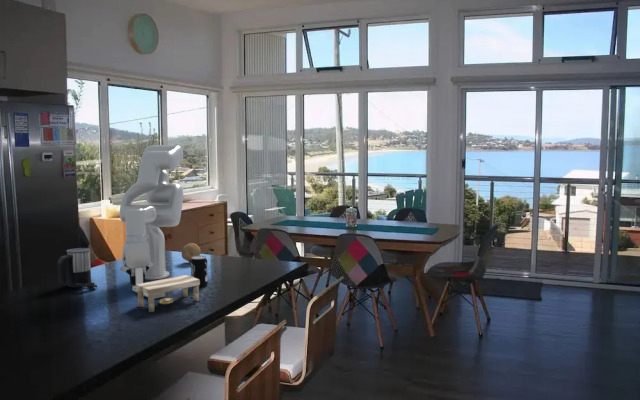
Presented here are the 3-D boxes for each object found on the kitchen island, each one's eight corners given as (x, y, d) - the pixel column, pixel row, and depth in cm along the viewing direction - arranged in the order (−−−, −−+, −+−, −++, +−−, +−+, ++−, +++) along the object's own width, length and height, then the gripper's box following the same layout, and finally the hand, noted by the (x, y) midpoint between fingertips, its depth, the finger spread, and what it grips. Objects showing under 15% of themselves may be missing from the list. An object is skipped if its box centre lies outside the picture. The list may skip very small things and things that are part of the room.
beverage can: (203, 288, 218) (203, 259, 217) (188, 287, 219) (187, 258, 218) (210, 284, 224) (209, 255, 223) (195, 283, 226) (194, 255, 224)
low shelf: (137, 306, 194) (136, 284, 194) (186, 295, 208) (185, 274, 208) (150, 312, 187) (149, 289, 186) (200, 300, 201) (199, 279, 200)
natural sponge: (192, 266, 256) (192, 245, 255) (177, 264, 260) (177, 244, 259) (204, 262, 264) (203, 242, 263) (189, 260, 268) (189, 240, 267)
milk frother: (77, 281, 229) (76, 247, 227) (111, 283, 225) (109, 248, 224) (54, 290, 215) (52, 254, 213) (89, 292, 211) (87, 255, 210)
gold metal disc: (156, 303, 199) (156, 299, 199) (169, 300, 203) (169, 297, 203) (163, 305, 196) (163, 302, 196) (176, 303, 199) (175, 299, 199)
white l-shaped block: (129, 289, 215) (128, 267, 213) (143, 287, 219) (142, 265, 218) (150, 299, 202) (149, 276, 201) (165, 296, 206) (164, 273, 205)
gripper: (150, 235, 222) (152, 278, 224) (111, 240, 210) (113, 286, 212) (159, 237, 216) (161, 282, 218) (120, 243, 205) (122, 290, 207)
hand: (137, 283), depth 215 cm, fingers closed on white l-shaped block, 3 cm apart
